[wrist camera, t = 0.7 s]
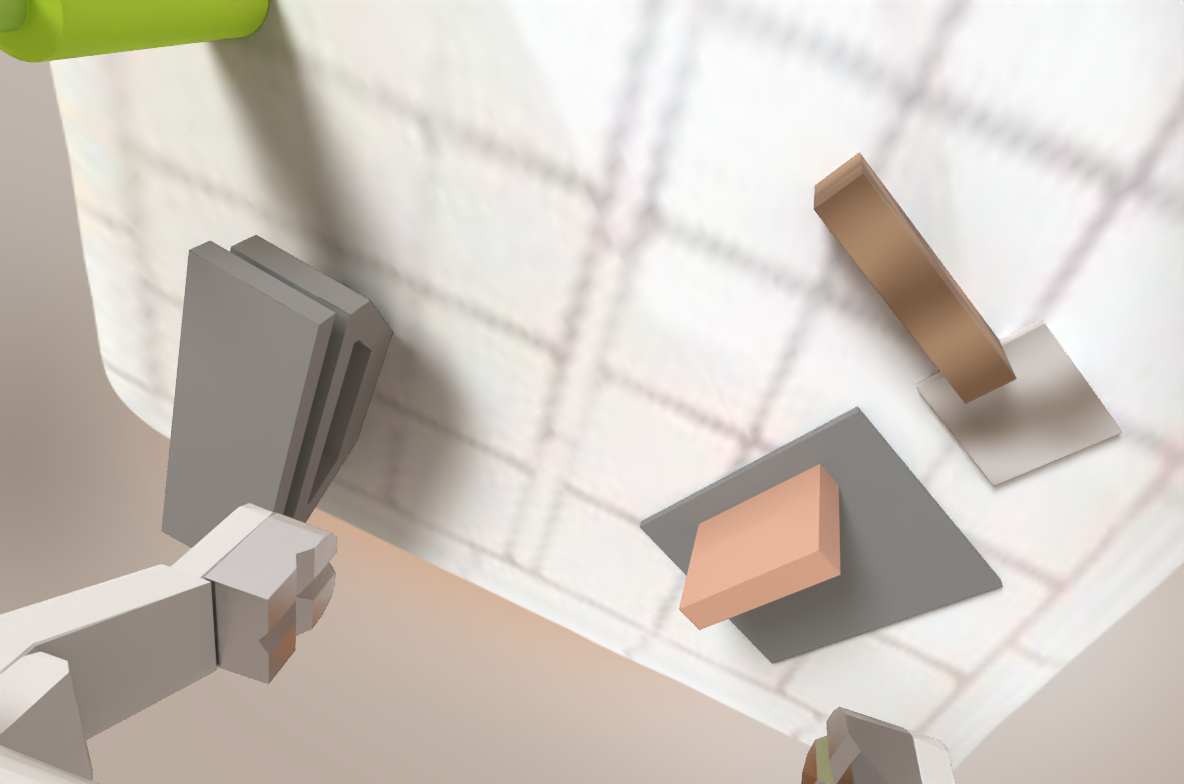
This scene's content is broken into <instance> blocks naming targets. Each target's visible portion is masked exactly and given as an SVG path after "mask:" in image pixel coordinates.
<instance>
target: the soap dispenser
mask: <svg viewBox="0 0 1184 784" xmlns="http://www.w3.org/2000/svg"><path fill="white" fill-rule="evenodd" d="M268 4H269V0H0V50H2V51H3V52H5V53H6V54H8V55H10V56H12V57H14V58H16V59H19V60H22V61H26V62H43V61H52V60H60V59H68V58H76V57H84V56H92V55H101V54H109V53H117V52H125V51H133V50H141V49H149V48H157V47H165V46H173V45H181V44H190V43H198V42H206V41H214V40H222V39H230V38H238V37H245V36H248V35H250V34H252V33H254V32H255V31H256V30H257V29H258V28H259V27H260V26H261V24H262V23H263V21H264V19H265V17H266V14H267V10H268Z"/></svg>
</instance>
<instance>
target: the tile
mask: <svg viewBox="0 0 1184 784" xmlns="http://www.w3.org/2000/svg"><path fill="white" fill-rule="evenodd" d="M838 575H840V525H839V485H838V484H837V483H836V482H835V480H834V479H833V478H832V477H831V476H830V475H829V473H828V472H827V471H826V470H825V469H824V468H823V466H822V465H821V464H819V465H817V466H815V467H813V468H811V469H809V470H807V471H805V472H803V473H801V474H799V475H797V476H795V477H793V478H791V479H789V480H787V481H785V482H782V483H780V484H778V485H776V486H774V487H772V488H770V489H768V490H766V491H764V492H762V493H760V494H758V495H756V496H754V497H752V498H750V499H748V500H746V501H744V502H742V503H740V504H738V505H736V506H734V507H732V508H730V509H728V510H726V511H724V512H722V513H720V514H718V515H716V516H714V517H712V518H710V519H708V520H706V521H704V522H702V523H700V524H699V525H698V530H697V534H696V538H695V542H694V547H693V551H692V555H691V560H690V564H689V568H688V573H687V577H686V581H685V586H684V590H683V594H682V598H681V603H680V607H679V610H680V611H681V612H682V613H683V614H684V615H685V616H686V617H687V618H688V619H689V620H690V621H691V622H692V623H693V624H694V625H695V626H696V627H697V628H698V629H699V630H701V629H703V628H706V627H709V626H711V625H714V624H716V623H719V622H721V621H724V620H726V619H729V618H731V617H734V616H737V615H739V614H742V613H744V612H747V611H749V610H752V609H754V608H757V607H759V606H762V605H765V604H767V603H770V602H772V601H775V600H777V599H780V598H782V597H785V596H787V595H790V594H793V593H795V592H798V591H800V590H803V589H805V588H808V587H810V586H813V585H815V584H818V583H820V582H823V581H826V580H828V579H831V578H833V577H836V576H838Z"/></svg>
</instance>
